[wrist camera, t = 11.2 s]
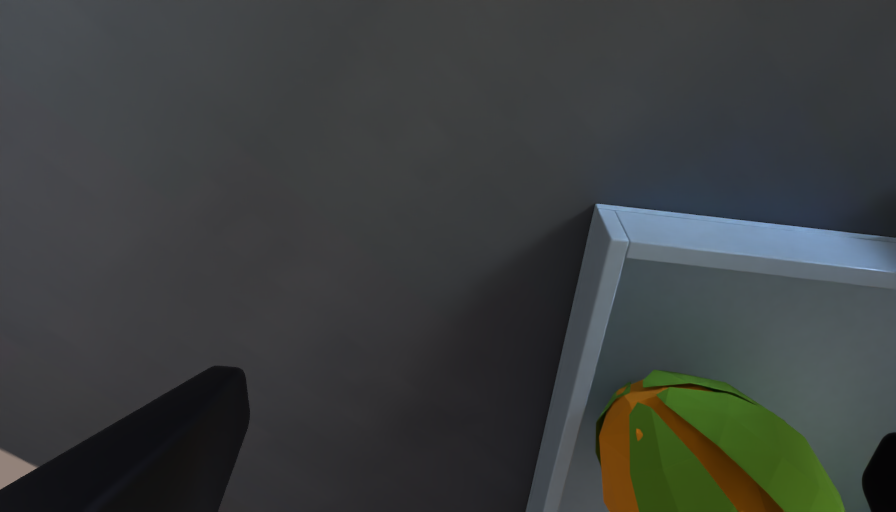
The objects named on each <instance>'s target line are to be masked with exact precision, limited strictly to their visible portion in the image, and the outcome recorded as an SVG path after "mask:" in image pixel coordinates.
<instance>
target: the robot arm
mask: <svg viewBox="0 0 896 512" xmlns="http://www.w3.org/2000/svg"><path fill="white" fill-rule="evenodd" d="M249 420H250V408H249V400H248V392H247V384H246V377H245V373H244V371H243V370H242V369H240V368H238V367H228V366H212V367H210V368H208V369H207V370H205V371H203V372H201V373H200V374H198V375H196V376H195V377H193V378H191V379H189V380H188V381H186V382H184V383H183V384H181V385H179V386H177V387H176V388H174V389H172V390H170V391H169V392H167V393H165V394H164V395H162V396H160V397H158V398H157V399H155V400H153V401H152V402H150V403H148V404H146V405H145V406H143V407H141V408H140V409H138V410H136V411H134V412H133V413H131V414H129V415H128V416H126V417H124V418H122V419H121V420H119V421H117V422H116V423H114V424H112V425H110V426H109V427H107V428H105V429H104V430H102V431H100V432H98V433H97V434H95V435H93V436H92V437H90V438H88V439H86V440H85V441H83V442H81V443H80V444H78V445H76V446H74V447H73V448H71V449H69V450H68V451H66V452H64V453H62V454H61V455H59V456H57V457H56V458H54V459H52V460H50V461H49V462H47V463H45V464H43V465H42V466H40V467H38V468H37V469H35V470H33V471H31V472H30V473H28V474H26V475H25V476H23V477H21V478H19V479H18V480H16V481H14V482H13V483H11V484H9V485H7V486H6V487H4V488H3V489H1V490H0V512H218V510H219V507H220V504H221V501H222V498H223V496H224V493H225V490H226V487H227V485H228V482H229V479H230V476H231V473H232V471H233V468H234V465H235V462H236V459H237V457H238V454H239V451H240V448H241V446H242V443H243V440H244V437H245V434H246V432H247V429H248V425H249ZM862 489H863V492H864V495H865V498H866V500H867V503H868V505H869V507H870V510H871V512H896V432H892V433H888V434H887V435H885V436H884V437H883V438H882V439H881V441H880V443H879V445H878V446H877V448H876V450H875V452H874V454H873V455H872V457H871V459H870V461H869V463H868V465H867V466H866V468H865V470H864V472H863V475H862Z"/></svg>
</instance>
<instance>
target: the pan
mask: <svg viewBox="0 0 896 512" xmlns="http://www.w3.org/2000/svg"><path fill="white" fill-rule="evenodd" d="M653 370H662V371H671V372H677V373H682V374H687V375H692V376H697V377H702V378H707V379H712V380H717V381H722V382H726V383H728V384H729V385H731V386H733V387H734V388H736V389H737V390H739V391H740V392H742V393H743V394H745V395H746V396H748V397H749V398H751V399H753V400H754V401H756V402H757V403H759V404H760V405H762V406H763V407H765V408H766V409H768V410H769V411H771V412H773V413H775V414H776V415H777V416H779V417H780V418H782V419H783V420H785V422H786V423H787V424H789V425H790V426H791V427H793V428H794V429H795V430H796V431H798V432H799V433H800V434H802V435H803V436H804V437H805V438H806V440H807V442H808V443H809V445H810V446H811V448H812V450H813V451H814V453H815V455H816V456H817V458H818V460H819V461H820V463H821V465H822V466H823V468H824V469H825V471H826V473H827V474H828V476H829V478H830V479H831V481H832V483H833V484H834V486H835V487H836V489H837V491H838V492H839V494H840V496H841V499H842V503H843V506H844V509H845V512H871V510H870V507H869V505H868V503H867V500H866V498H865V495H864V492H863V489H862V475H863V472H864V470H865V468H866V466H867V465H868V463H869V461H870V459H871V457H872V455H873V454H874V452H875V450H876V448H877V446H878V445H879V443H880V441H881V439H882V438H883V437H884V436H885V435H887V434H888V433H892V432H896V238H893V237H884V236H875V235H866V234H858V233H849V232H840V231H832V230H823V229H814V228H805V227H797V226H788V225H779V224H771V223H762V222H753V221H744V220H736V219H727V218H718V217H710V216H701V215H692V214H683V213H675V212H666V211H657V210H649V209H640V208H631V207H622V206H614V205H605V204H595V207H594V212H593V216H592V221H591V225H590V229H589V234H588V238H587V243H586V247H585V252H584V256H583V260H582V265H581V269H580V274H579V278H578V283H577V287H576V291H575V296H574V300H573V305H572V309H571V314H570V318H569V322H568V327H567V331H566V336H565V340H564V345H563V349H562V353H561V358H560V362H559V367H558V371H557V376H556V380H555V384H554V389H553V393H552V398H551V402H550V407H549V411H548V415H547V420H546V424H545V429H544V433H543V438H542V442H541V446H540V451H539V455H538V460H537V464H536V468H535V473H534V477H533V482H532V486H531V491H530V495H529V499H528V504H527V508H526V512H610V511H609V510H608V508H607V506H606V505H605V503H604V501H603V486H602V472H601V466H600V463H599V461H598V458H597V455H596V453H595V443H596V422H597V420H598V418H599V417H600V415H601V414H602V412H603V410H604V409H605V407H606V405H607V404H608V402H609V400H610V399H611V397H612V396H613V394H614V392H615V391H617V390H618V389H620V388H621V387H623V386H624V385H625V384H627V383H628V382H631V384H633V383H636V382H638V381H640V380H643V379H645V378H646V377H647V376H648V375H649V374H650V373H651V372H652V371H653Z"/></svg>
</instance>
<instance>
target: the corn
mask: <svg viewBox="0 0 896 512" xmlns="http://www.w3.org/2000/svg"><path fill="white" fill-rule="evenodd" d="M595 453H596V455H597V458H598V461H599V463H600V466H601V472H602V486H603V501H604V503H605V505H606V506H607V508H608V510H609V511H610V512H845V509H844V506H843V503H842V499H841V496H840V494H839V492H838V491H837V489H836V487H835V486H834V484H833V483H832V481H831V479H830V478H829V476H828V474H827V473H826V471H825V469H824V468H823V466H822V465H821V463H820V461H819V460H818V458H817V456H816V455H815V453H814V451H813V450H812V448H811V446H810V445H809V443H808V442H807V440H806V438H805V437H804V436H803V435H802V434H800V433H799V432H798V431H796V430H795V429H794V428H793V427H791V426H790V425H789V424H787V423H786V422H785V420H783V419H782V418H780V417H779V416H777V415H776V414H775V413H773V412H771V411H769V410H768V409H766V408H765V407H763V406H762V405H760V404H759V403H757V402H756V401H754V400H753V399H751V398H749V397H748V396H746V395H745V394H743V393H742V392H740V391H739V390H737V389H736V388H734V387H733V386H731V385H729V384H728V383H726V382H722V381H717V380H712V379H707V378H702V377H697V376H692V375H687V374H682V373H677V372H671V371H662V370H653V371H652V372H651V373H650V374H649V375H648V376H647V377H646V378H645V379H643V380H640V381H638V382H636V383H633V384H631V382H628V383H627V384H625V385H624V386H623V387H621V388H620V389H618V390H617V391H615V392H614V394H613V396H612V397H611V399H610V400H609V402H608V404H607V405H606V407H605V409H604V410H603V412H602V414H601V415H600V417H599V418H598V420H597V422H596V443H595Z"/></svg>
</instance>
